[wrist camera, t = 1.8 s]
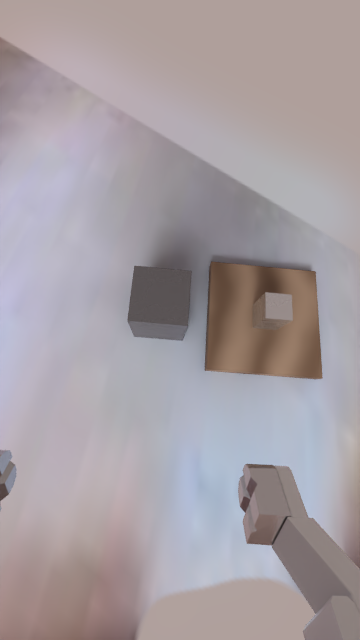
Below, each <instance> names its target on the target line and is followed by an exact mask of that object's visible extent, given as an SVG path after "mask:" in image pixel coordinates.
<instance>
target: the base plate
mask: <svg viewBox="0 0 360 640" xmlns="http://www.w3.org/2000/svg"><path fill="white" fill-rule="evenodd" d="M265 292H268V293H279V294H290V295H292V312H293V321H291V322H289V323H288V324H286V325H284V326H282V327H281V328H279V329H277V330H271V329H259V328H253V304H254V303H255V302H256V301H257V300H258V299H259V298H260V297H261V296H262V295H263V294H264V293H265ZM205 371H218V372H231V373H244V374H256V375H269V376H282V377H295V378H308V379H321V378H322V364H321V349H320V334H319V318H318V303H317V288H316V272H315V271H304V270H294V269H283V268H273V267H262V266H252V265H241V264H231V263H220V262H211V264H210V267H209V289H208V310H207V332H206V353H205Z"/></svg>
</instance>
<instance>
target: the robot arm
mask: <svg viewBox="0 0 360 640" xmlns="http://www.w3.org/2000/svg"><path fill="white" fill-rule="evenodd" d="M11 458H12V454H11V452H10V450H0V501H1V500H2V499H4V498H5V497H6V496H7V495H9V493H10V491H11V489H12V487H13V485H14V481H15V478H16V466H15V464H13V463H12V462H11V461H10V460H11ZM243 473H244V475H243V476H242V477H240V481H239V488H238V493H239V502H240V507H241V508H242V509H243V511H244V512H245V516H244V519H243V525H244V531H245V536H246V542H247V544H260V545H273V546H272V548H273V550H274V551H275V553H276V554H277V556H278V557H279V559H280V560H281V562H282V563H283V565H284V566H285V568H286V569H287V571H288V572H289V574H290V576H291V577H292V579H293V580H294V582H295V583H296V585H297V586H298V588H299V589H300V591H301V592H302V594H303V595H304V597H305V598H306V600H307V601H308V603H309V605H310V606H311V608H312V609H313V611H314V612H315V614H316V615H315V616H314V617H313V618H312V619H311V620H310V621H309V623H308V624H307V625H306V626H305V628H304V630H303V633H304V638H305V640H360V569H359V568H358V567H357V566H356V565H355V564H354V562H353V561H352V560H351V559H350V558H349V557H348V556H347V555H346V554H345V553H344V552H343V550H342V549H341V548H340V547H339V546H338V545H337V544H336V543H335V542H334V541H333V540H332V539H331V537H330V536H329V535H328V534H327V533H326V532H325V531H324V530H323V529H322V528H321V527H320V525H319V524H318V523H317V522H316V521H315V520H314V519H313V518H308V515H307V512H306V510H305V507H304V504H303V502H302V499H301V496H300V493H299V491H298V488H297V485H296V482H295V480H294V477H293V474H292V472H291V470H290V468H289V467H287V466H273V465H257V464H246V465H244V468H243ZM0 510H1V502H0Z"/></svg>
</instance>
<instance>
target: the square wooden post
mask: <svg viewBox="0 0 360 640" xmlns="http://www.w3.org/2000/svg"><path fill="white" fill-rule="evenodd" d="M291 321H293V312H292V295H290V294H279V293H268V292H265V293H264V294H263V295H262V296H261V297H260V298H259V299H258V300H257V301H256V302H255V303H254V304H253V328H259V329H271V330H277V329H279V328H281V327H282V326H284V325H286V324H288V323H289V322H291Z"/></svg>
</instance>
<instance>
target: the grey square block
mask: <svg viewBox="0 0 360 640" xmlns="http://www.w3.org/2000/svg"><path fill="white" fill-rule="evenodd" d="M190 285H191V271H185V270H174V269H163V268H152V267H142V266H134V273H133V281H132V289H131V297H130V305H129V313H128V323H129V325H130V328H131V330H132V332H133V334H134V337H146V338H158V339H170V340H183V337H184V335H185V332H186V329H187V327H188V315H189V300H190Z"/></svg>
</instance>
